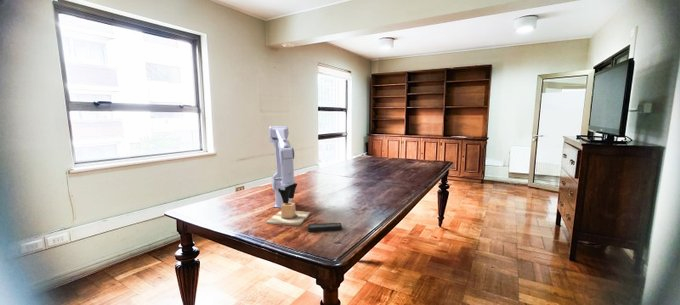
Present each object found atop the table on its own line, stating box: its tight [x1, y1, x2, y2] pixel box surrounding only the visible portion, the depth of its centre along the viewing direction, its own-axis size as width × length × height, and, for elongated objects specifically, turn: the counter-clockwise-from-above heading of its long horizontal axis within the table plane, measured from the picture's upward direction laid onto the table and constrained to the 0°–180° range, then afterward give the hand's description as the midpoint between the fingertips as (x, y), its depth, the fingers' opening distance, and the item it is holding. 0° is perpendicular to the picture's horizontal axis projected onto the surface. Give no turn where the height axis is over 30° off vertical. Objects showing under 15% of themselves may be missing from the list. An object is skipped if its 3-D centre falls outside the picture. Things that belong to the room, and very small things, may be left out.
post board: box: [266, 210, 311, 227], centre depth 138 cm, size 16×16×6 cm
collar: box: [280, 202, 297, 218], centre depth 138 cm, size 5×5×6 cm
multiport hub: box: [307, 222, 343, 233], centre depth 124 cm, size 4×14×2 cm, turn 95°
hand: (288, 200), depth 137 cm, fingers open, 7 cm apart
